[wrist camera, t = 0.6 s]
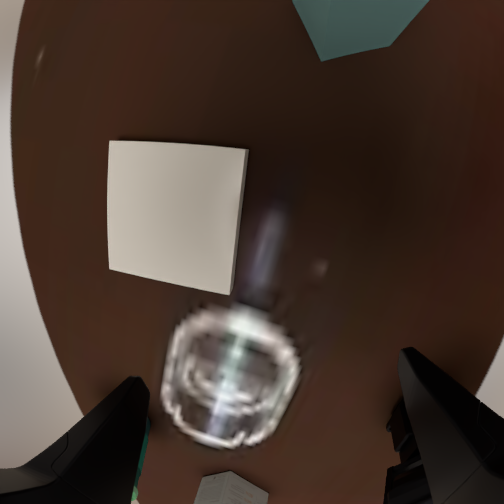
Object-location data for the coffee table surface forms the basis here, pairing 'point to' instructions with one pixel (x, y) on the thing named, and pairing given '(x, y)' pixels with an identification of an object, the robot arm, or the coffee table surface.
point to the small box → (229, 490)
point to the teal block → (355, 23)
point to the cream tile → (175, 211)
